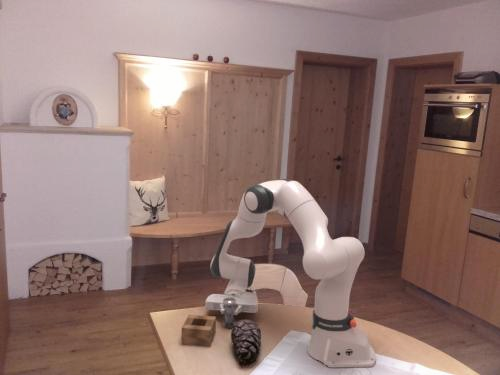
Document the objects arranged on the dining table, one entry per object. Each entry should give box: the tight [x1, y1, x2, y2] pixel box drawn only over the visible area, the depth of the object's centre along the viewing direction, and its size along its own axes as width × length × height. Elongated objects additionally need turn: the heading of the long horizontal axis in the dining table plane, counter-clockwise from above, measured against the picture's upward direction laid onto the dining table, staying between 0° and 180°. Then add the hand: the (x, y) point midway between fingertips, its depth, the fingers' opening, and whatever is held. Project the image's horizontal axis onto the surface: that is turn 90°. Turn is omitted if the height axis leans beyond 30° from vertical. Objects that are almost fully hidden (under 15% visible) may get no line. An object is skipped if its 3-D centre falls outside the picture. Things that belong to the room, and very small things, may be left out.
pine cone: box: [230, 319, 262, 369], centre depth 148 cm, size 10×18×10 cm, turn 10°
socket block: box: [181, 314, 217, 347], centre depth 158 cm, size 10×10×6 cm
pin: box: [223, 298, 236, 329], centre depth 166 cm, size 5×5×10 cm
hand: (229, 312), depth 165 cm, fingers closed on pin, 3 cm apart
